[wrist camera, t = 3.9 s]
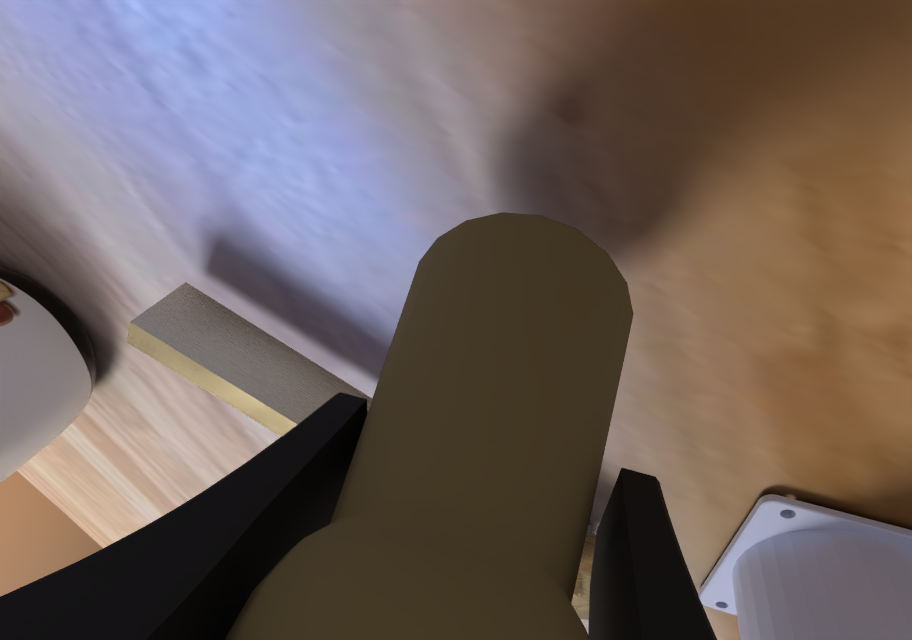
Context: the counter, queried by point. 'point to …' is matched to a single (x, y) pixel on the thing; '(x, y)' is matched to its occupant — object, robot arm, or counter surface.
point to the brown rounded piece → (469, 452)
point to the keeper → (257, 374)
